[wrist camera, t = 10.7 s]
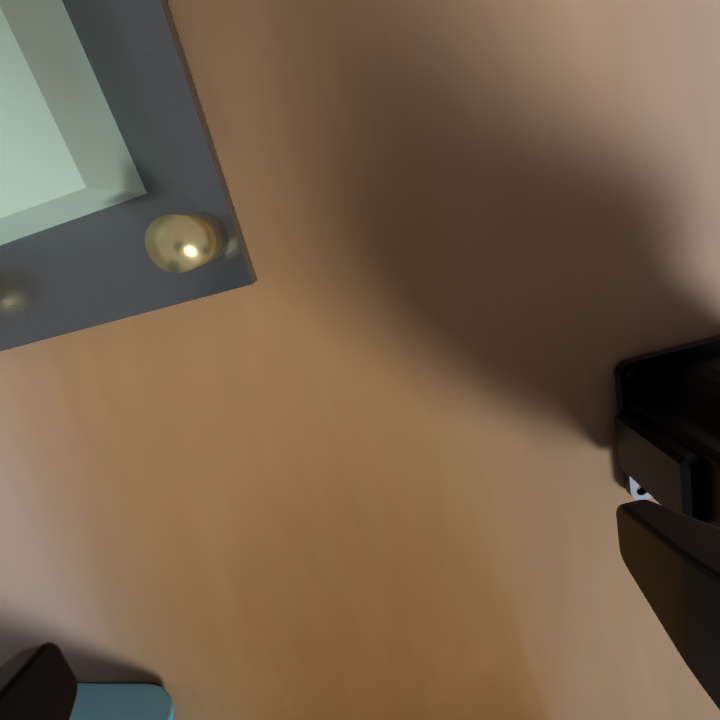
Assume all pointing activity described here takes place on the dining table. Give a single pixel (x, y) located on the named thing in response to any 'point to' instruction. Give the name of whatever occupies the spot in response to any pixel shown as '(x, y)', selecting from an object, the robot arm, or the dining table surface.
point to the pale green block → (54, 125)
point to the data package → (121, 702)
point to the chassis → (138, 215)
